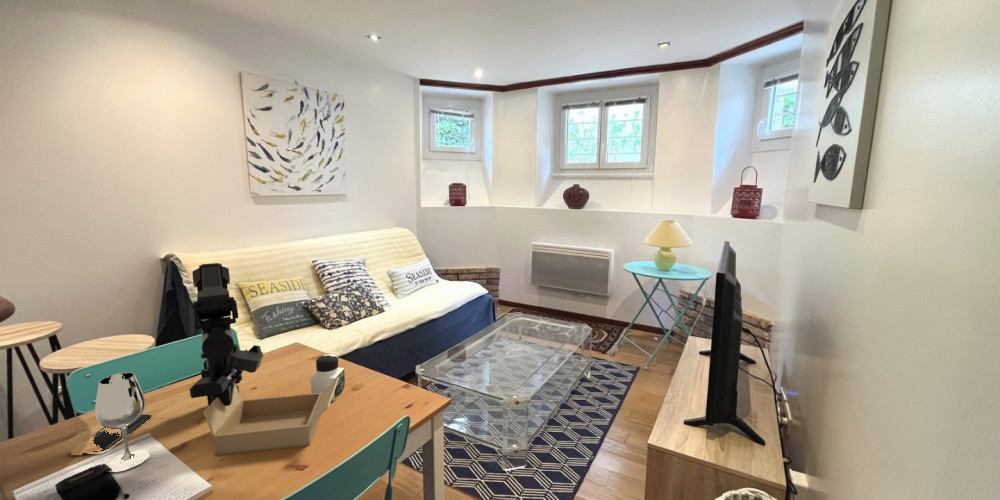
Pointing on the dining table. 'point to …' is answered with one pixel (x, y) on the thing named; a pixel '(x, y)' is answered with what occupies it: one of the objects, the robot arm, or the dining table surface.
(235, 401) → the flap near
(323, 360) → the medicine bottle
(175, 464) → the dining table surface
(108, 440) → the phone
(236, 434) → the carton
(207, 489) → the dining table surface
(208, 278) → the robot arm
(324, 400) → the flap far
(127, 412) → the wineglass
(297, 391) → the dining table surface
